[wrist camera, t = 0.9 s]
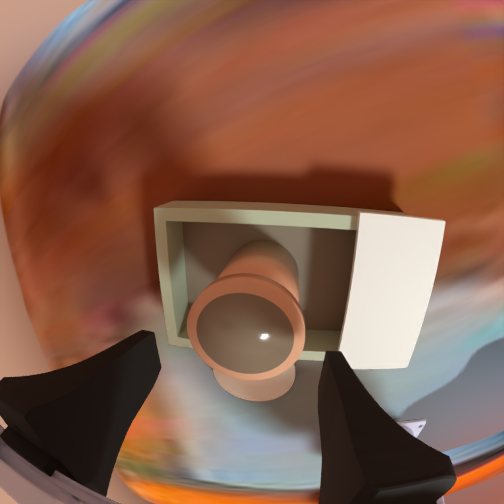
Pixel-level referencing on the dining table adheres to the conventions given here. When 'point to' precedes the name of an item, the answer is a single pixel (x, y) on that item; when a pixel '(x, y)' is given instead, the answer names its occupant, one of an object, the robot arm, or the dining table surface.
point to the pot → (250, 314)
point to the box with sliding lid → (311, 270)
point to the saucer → (257, 385)
